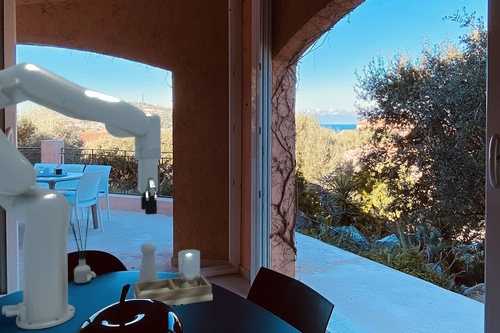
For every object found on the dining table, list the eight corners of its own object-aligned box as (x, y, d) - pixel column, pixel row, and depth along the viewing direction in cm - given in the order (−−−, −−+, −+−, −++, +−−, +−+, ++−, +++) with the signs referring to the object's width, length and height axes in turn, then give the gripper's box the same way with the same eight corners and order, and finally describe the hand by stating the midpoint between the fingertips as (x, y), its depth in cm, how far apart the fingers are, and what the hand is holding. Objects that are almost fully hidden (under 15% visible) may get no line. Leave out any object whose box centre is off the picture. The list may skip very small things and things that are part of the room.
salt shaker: (152, 290, 110) (152, 246, 109) (134, 289, 111) (134, 245, 110) (161, 284, 115) (161, 242, 115) (144, 282, 117) (144, 241, 116)
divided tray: (137, 311, 95) (137, 295, 95) (133, 296, 105) (133, 282, 105) (212, 299, 103) (212, 285, 103) (202, 287, 113) (202, 274, 113)
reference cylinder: (181, 295, 102) (180, 256, 102) (176, 288, 107) (176, 250, 107) (202, 292, 104) (202, 253, 104) (196, 285, 110) (196, 248, 109)
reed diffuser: (81, 288, 111) (80, 222, 111) (60, 287, 112) (59, 221, 112) (99, 277, 121) (99, 216, 121) (80, 276, 122) (79, 215, 122)
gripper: (132, 154, 118) (133, 208, 119) (138, 155, 103) (139, 217, 103) (156, 154, 121) (156, 207, 122) (165, 155, 105) (166, 215, 106)
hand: (148, 211), depth 113 cm, fingers open, 9 cm apart
